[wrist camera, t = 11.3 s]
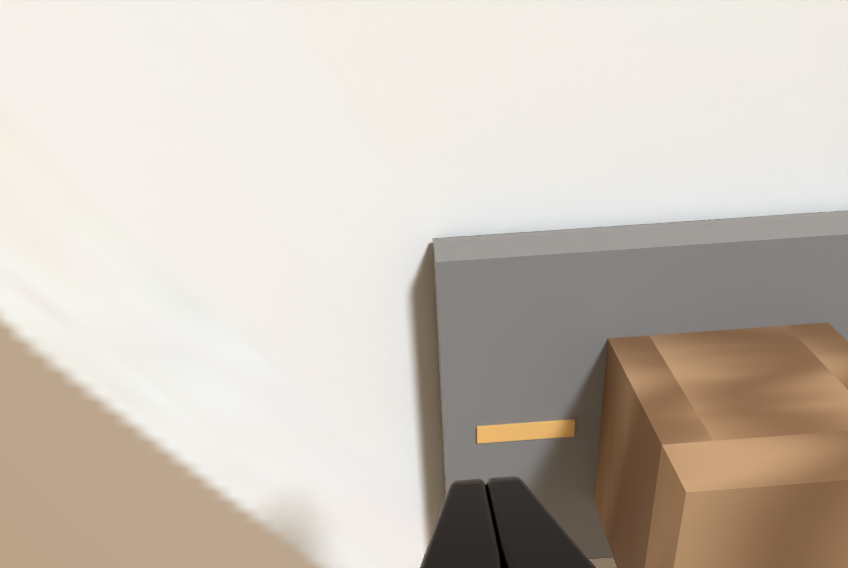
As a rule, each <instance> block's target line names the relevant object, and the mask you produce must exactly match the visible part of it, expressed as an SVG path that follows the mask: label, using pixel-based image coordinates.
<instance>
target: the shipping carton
mask: <svg viewBox="0 0 848 568" xmlns="http://www.w3.org/2000/svg"><path fill="white" fill-rule="evenodd" d="M594 502H595V505H596V508H597V511H598V514H599V517H600V520H601V522H602V525H603V528H604V531H605V534H606V537H607V540H608V543H609V545H610V548H611V551H612V554H613V557H614V560H615V563H616V565H617V568H848V341H847V340H846V339H845V338H844V337H843V336H842V335H841V334H840V333H839V332H838V331H836V330H835V329H834V328H833V327H832V326H831V325H830V324H829V323H828V322H827V323H814V324H800V325H786V326H772V327H759V328H745V329H731V330H717V331H704V332H690V333H676V334H663V335H649V336H635V337H621V338H608V343H607V354H606V366H605V378H604V390H603V401H602V413H601V425H600V437H599V448H598V460H597V472H596V483H595V495H594Z"/></svg>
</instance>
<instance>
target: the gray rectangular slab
mask: <svg viewBox="0 0 848 568" xmlns="http://www.w3.org/2000/svg"><path fill="white" fill-rule="evenodd" d="M433 253H434V273H435V294H436V314H437V335H438V355H439V376H440V396H441V417H442V437H443V458H444V478H445V497H446V494H447V491H448V488H449V486H450V484H451V483H452V482H453V481H457V480H470V479H481V480H483V481H484V482H485V483H486V481H487V480H488V479H489V478H497V477H511V476H516V477H519V478H520V479H521V480H522V481H523V482H524V483H525V484H526V485H527V486H528V488H529V489H530V490H531V491H532V492H533V494H534V495H535V496H536V497H537V498H538V499H539V501H540V502H541V503H542V504H543V505H544V507H545V508H546V509H547V510H548V511H549V513H550V514H551V515H552V516H553V517H554V519H555V520H556V521H557V522H558V523H559V525H560V526H561V527H562V528H563V529H564V530H565V532H566V533H567V534H568V535H569V536H570V538H571V539H572V540H573V541H574V542H575V544H576V545H577V546H578V547H579V548H580V550H581V551H582V552H583V553H584V554H585V555H586V557H587V558H588V559H595V558H608V557H613V554H612V551H611V548H610V545H609V543H608V540H607V537H606V534H605V531H604V528H603V525H602V522H601V520H600V517H599V514H598V511H597V508H596V505H595V502H594V495H595V483H596V472H597V460H598V448H599V437H600V425H601V413H602V401H603V390H604V378H605V366H606V354H607V343H608V338H621V337H635V336H649V335H663V334H676V333H690V332H704V331H717V330H731V329H745V328H759V327H772V326H786V325H800V324H814V323H827V322H828V323H829V324H830V325H831V326H832V327H833V328H834V329H835V330H836V331H838V332H839V333H840V334H841V335H842V336H843V337H844V338H845V339H846V340H847V341H848V211H834V212H819V213H804V214H789V215H774V216H759V217H744V218H729V219H714V220H699V221H685V222H670V223H655V224H640V225H625V226H610V227H595V228H580V229H565V230H550V231H535V232H520V233H506V234H491V235H476V236H461V237H446V238H433Z"/></svg>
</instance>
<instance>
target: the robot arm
mask: <svg viewBox="0 0 848 568" xmlns="http://www.w3.org/2000/svg"><path fill="white" fill-rule="evenodd" d="M420 568H596V567H595V566H594V565H593V564H592V563H591V561H590V560H589V559H588V558H587V557H586V555H585V554H584V553H583V552H582V551H581V550H580V548H579V547H578V546H577V545H576V544H575V542H574V541H573V540H572V539H571V538H570V536H569V535H568V534H567V533H566V532H565V530H564V529H563V528H562V527H561V526H560V525H559V523H558V522H557V521H556V520H555V519H554V517H553V516H552V515H551V514H550V513H549V511H548V510H547V509H546V508H545V507H544V505H543V504H542V503H541V502H540V501H539V499H538V498H537V497H536V496H535V495H534V494H533V492H532V491H531V490H530V489H529V488H528V486H527V485H526V484H525V483H524V482H523V481H522V480H521V479H520V478H519V477H516V476H511V477H497V478H489V479H488V480H487V481H486V483H485V482H484V481H483V480H481V479H470V480H457V481H453V482H452V483H451V484H450V486H449V488H448V491H447V494H446V497H445V499H444V502H443V505H442V508H441V511H440V513H439V516H438V519H437V522H436V525H435V527H434V530H433V533H432V536H431V539H430V541H429V544H428V547H427V550H426V553H425V555H424V558H423V561H422V564H421V567H420Z"/></svg>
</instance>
